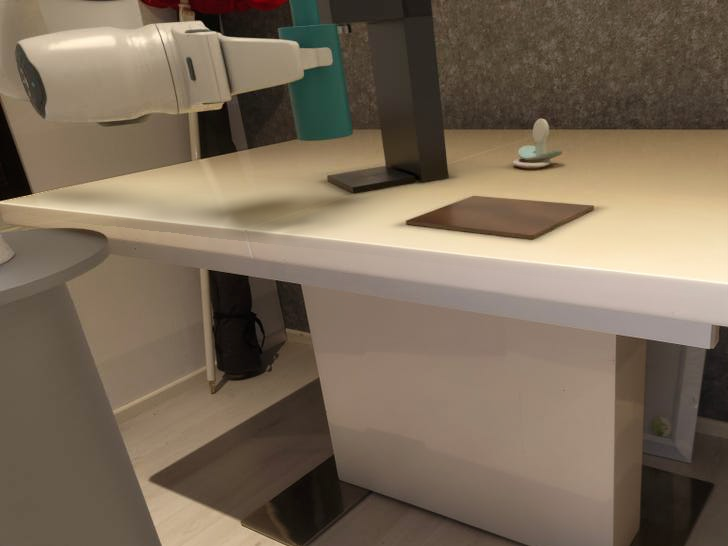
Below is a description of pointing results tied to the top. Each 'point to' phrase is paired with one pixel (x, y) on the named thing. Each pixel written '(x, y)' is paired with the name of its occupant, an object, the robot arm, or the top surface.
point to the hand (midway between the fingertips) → (320, 56)
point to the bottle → (318, 78)
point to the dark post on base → (398, 89)
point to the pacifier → (537, 148)
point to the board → (502, 216)
